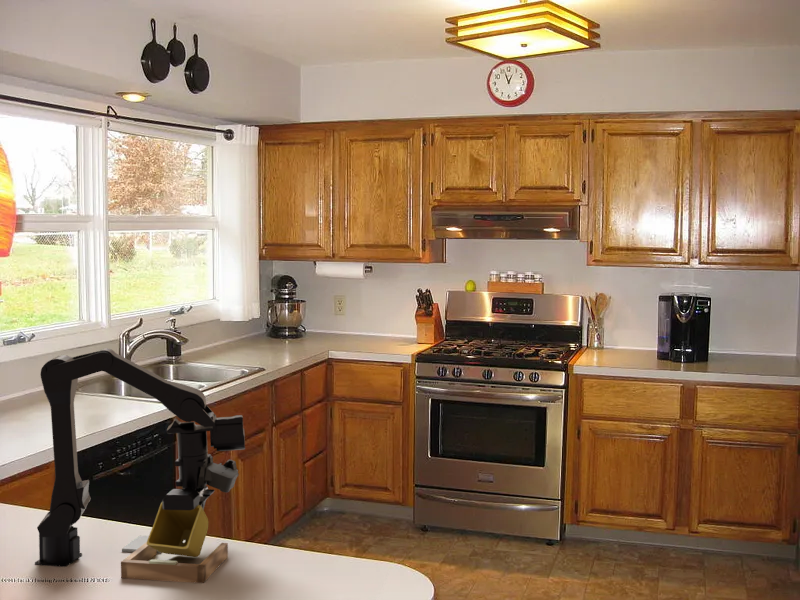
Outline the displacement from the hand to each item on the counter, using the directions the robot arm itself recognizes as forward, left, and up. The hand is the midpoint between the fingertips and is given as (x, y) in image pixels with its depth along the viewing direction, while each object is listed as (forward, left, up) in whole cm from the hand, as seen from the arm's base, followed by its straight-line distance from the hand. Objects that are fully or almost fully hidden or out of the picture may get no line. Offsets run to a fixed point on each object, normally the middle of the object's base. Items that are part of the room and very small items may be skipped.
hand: (196, 528), depth 169 cm
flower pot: (0, -2, -2) cm, 3 cm away
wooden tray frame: (0, -10, -4) cm, 11 cm away
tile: (-10, +1, -4) cm, 11 cm away
